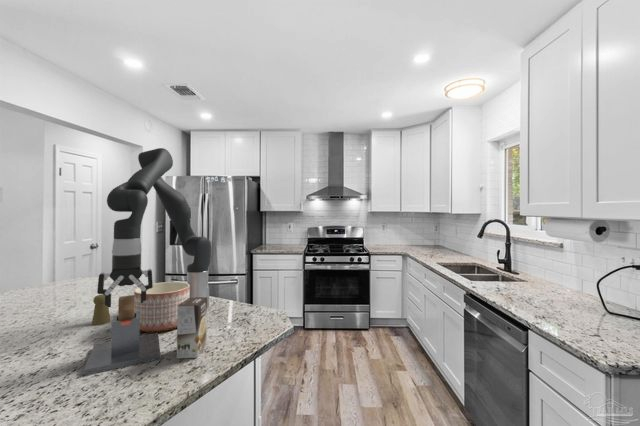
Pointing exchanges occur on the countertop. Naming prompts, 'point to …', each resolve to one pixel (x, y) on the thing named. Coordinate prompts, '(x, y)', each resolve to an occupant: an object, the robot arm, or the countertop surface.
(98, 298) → the cork
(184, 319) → the coffee box
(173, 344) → the countertop surface
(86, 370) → the stand base
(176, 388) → the countertop surface
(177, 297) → the planter
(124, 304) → the stand post
